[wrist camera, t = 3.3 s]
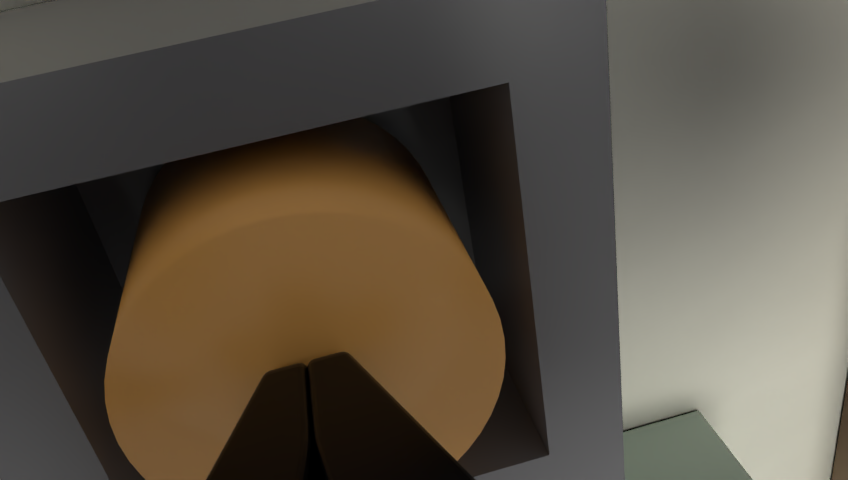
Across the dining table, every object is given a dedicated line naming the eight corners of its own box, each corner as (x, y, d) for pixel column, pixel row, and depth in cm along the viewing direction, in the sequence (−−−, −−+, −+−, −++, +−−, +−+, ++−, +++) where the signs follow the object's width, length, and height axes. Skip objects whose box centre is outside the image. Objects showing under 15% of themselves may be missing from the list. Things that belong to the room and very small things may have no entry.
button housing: (537, 336, 13) (625, 486, 10) (134, 445, 13) (104, 641, 10) (491, -91, 10) (603, -51, 7) (-73, 27, 9) (-223, 131, 6)
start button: (458, 325, 12) (522, 471, 9) (194, 396, 11) (182, 570, 9) (414, 70, 10) (481, 166, 7) (88, 146, 9) (31, 276, 7)
